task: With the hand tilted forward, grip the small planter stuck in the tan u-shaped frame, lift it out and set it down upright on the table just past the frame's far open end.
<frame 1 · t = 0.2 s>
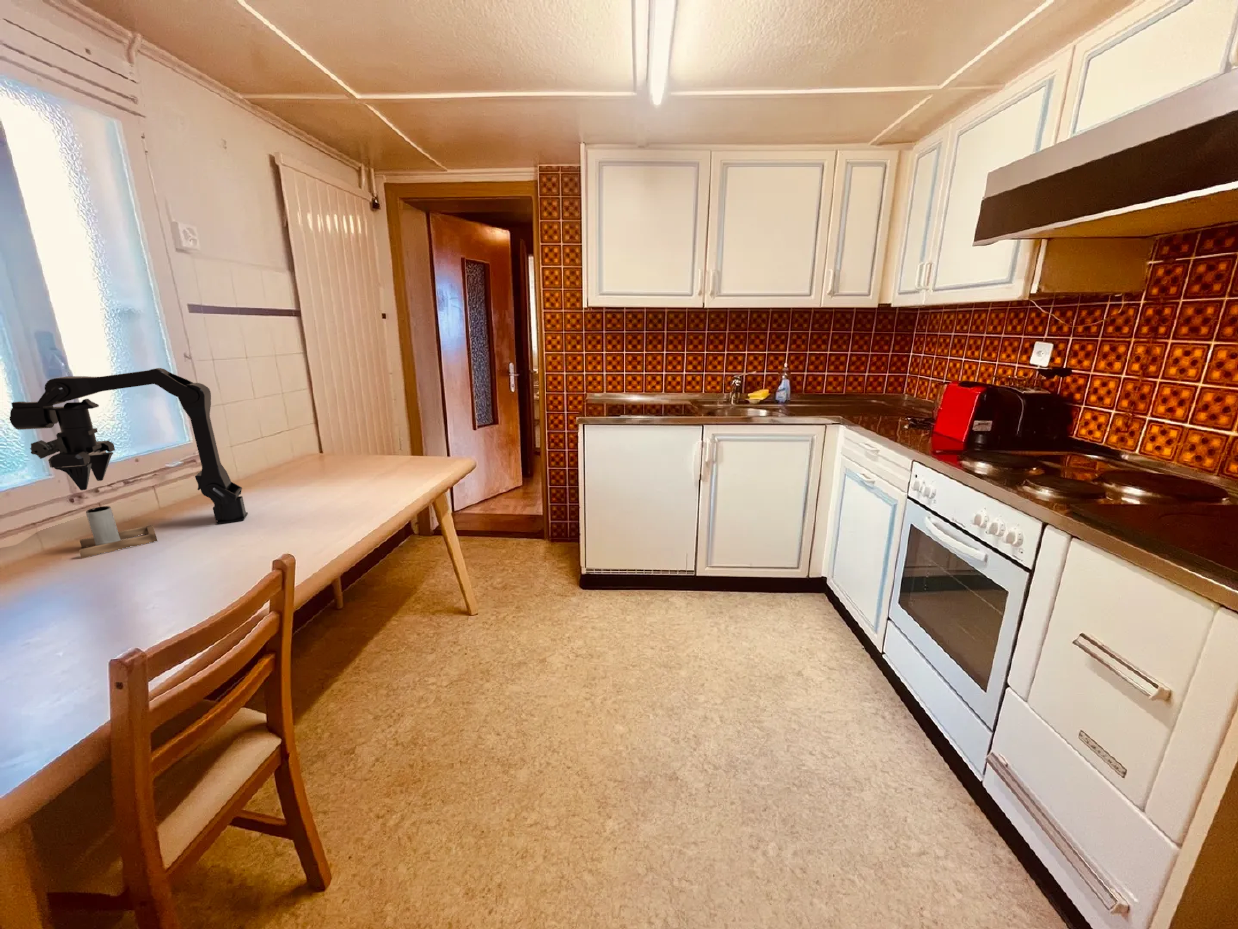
hand: (92, 485, 132), 15 cm above the table, tool pointing down, fingers open, 9 cm apart
planter: (109, 547, 130), resting in tan u-shaped frame
tan u-shaped frame: (120, 544, 131), on the table
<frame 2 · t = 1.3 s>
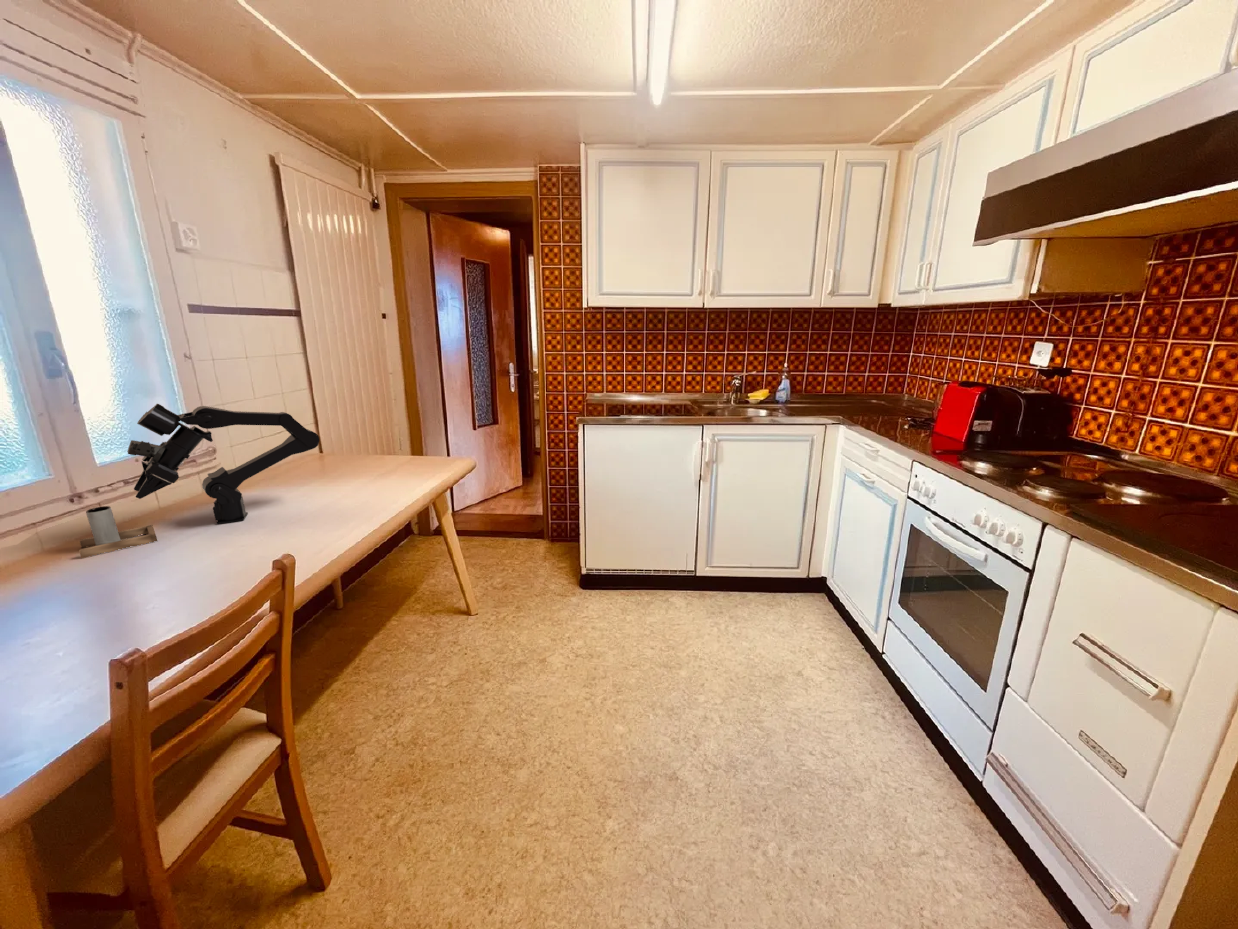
hand: (136, 494, 132), 12 cm above the table, tool tilted 45°, fingers open, 9 cm apart
nothing on the table moved.
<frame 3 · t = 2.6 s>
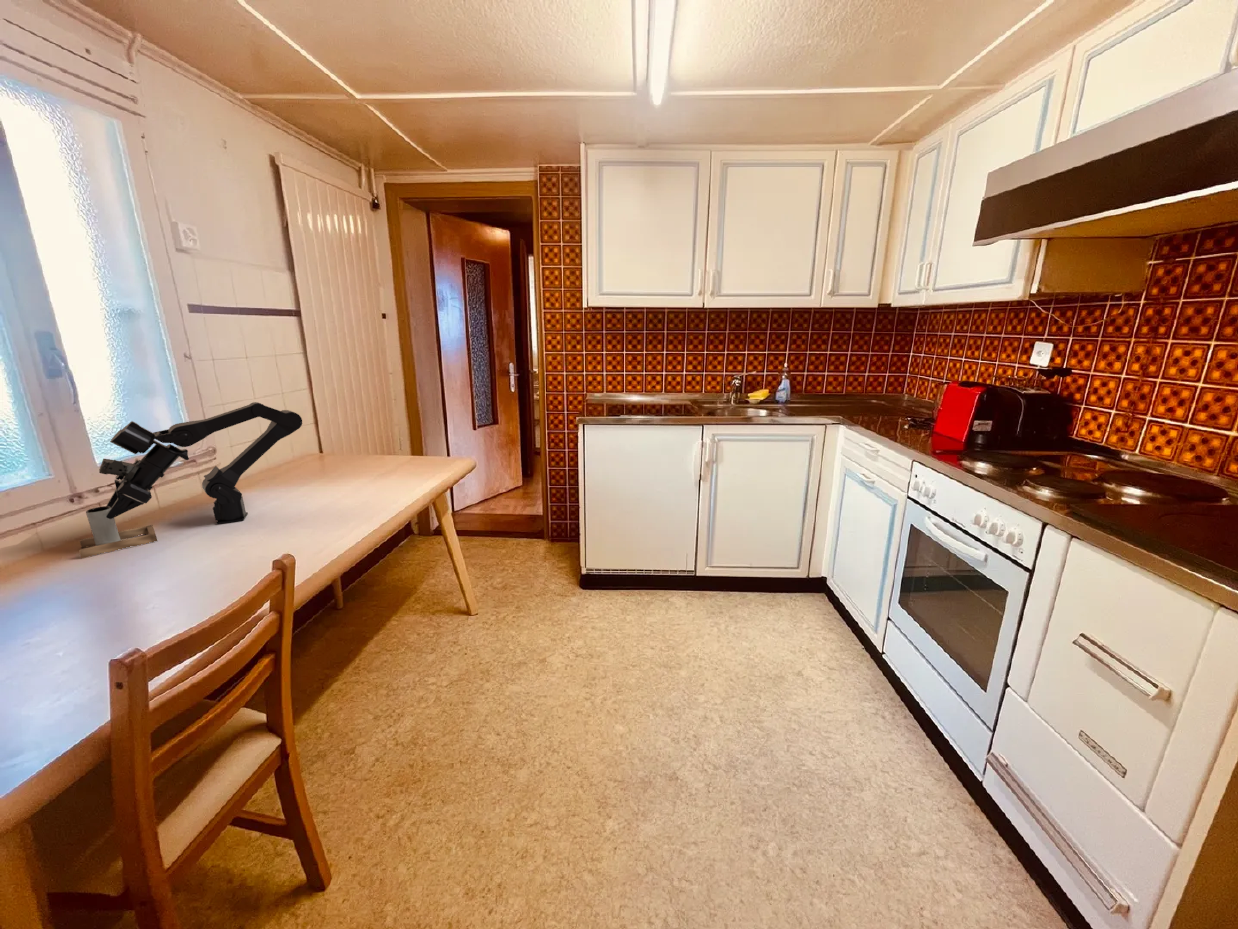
hand: (107, 513, 128), 9 cm above the table, tool tilted 45°, fingers open, 9 cm apart
nothing on the table moved.
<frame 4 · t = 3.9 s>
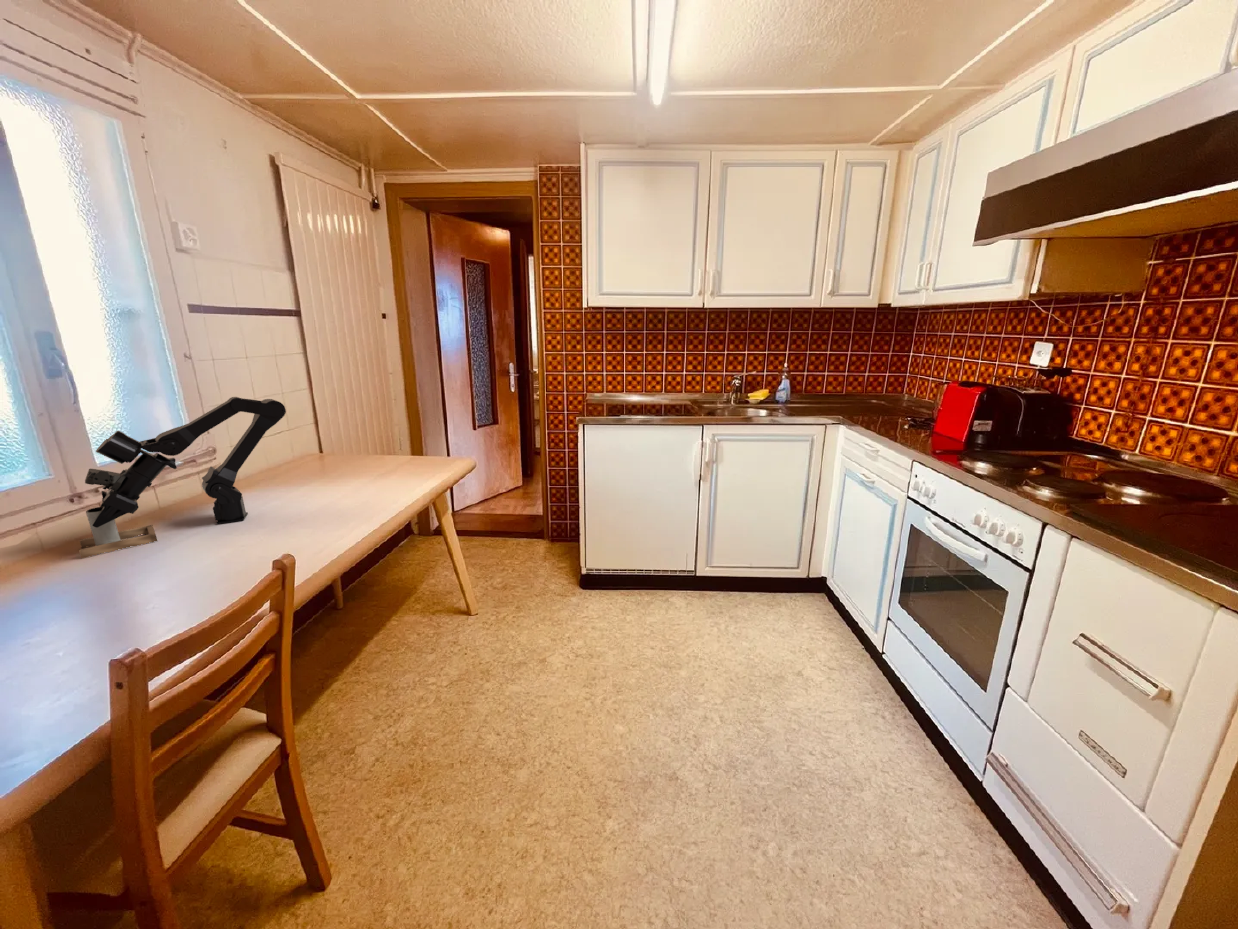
hand: (94, 524, 127), 7 cm above the table, tool tilted 45°, fingers closed on planter, 5 cm apart
planter: (109, 547, 130), resting in tan u-shaped frame, touching gripper
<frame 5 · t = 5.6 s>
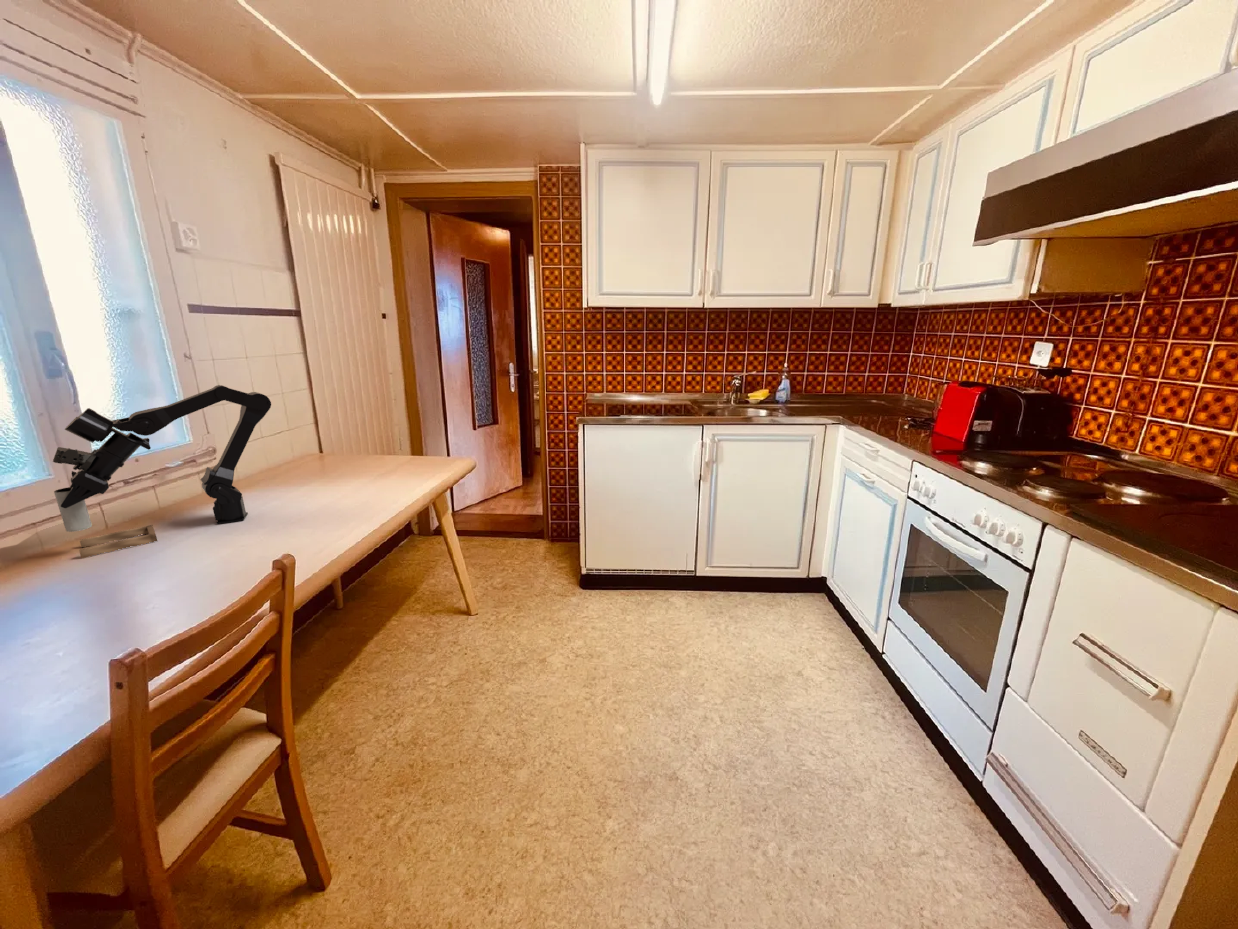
hand: (63, 505, 123), 13 cm above the table, tool tilted 45°, fingers closed on planter, 5 cm apart
planter: (79, 529, 125), point 6 cm above the table, touching gripper
when the fingers open (7 cm above the table, at t = 7.6 s): planter stays where it is, on the table.
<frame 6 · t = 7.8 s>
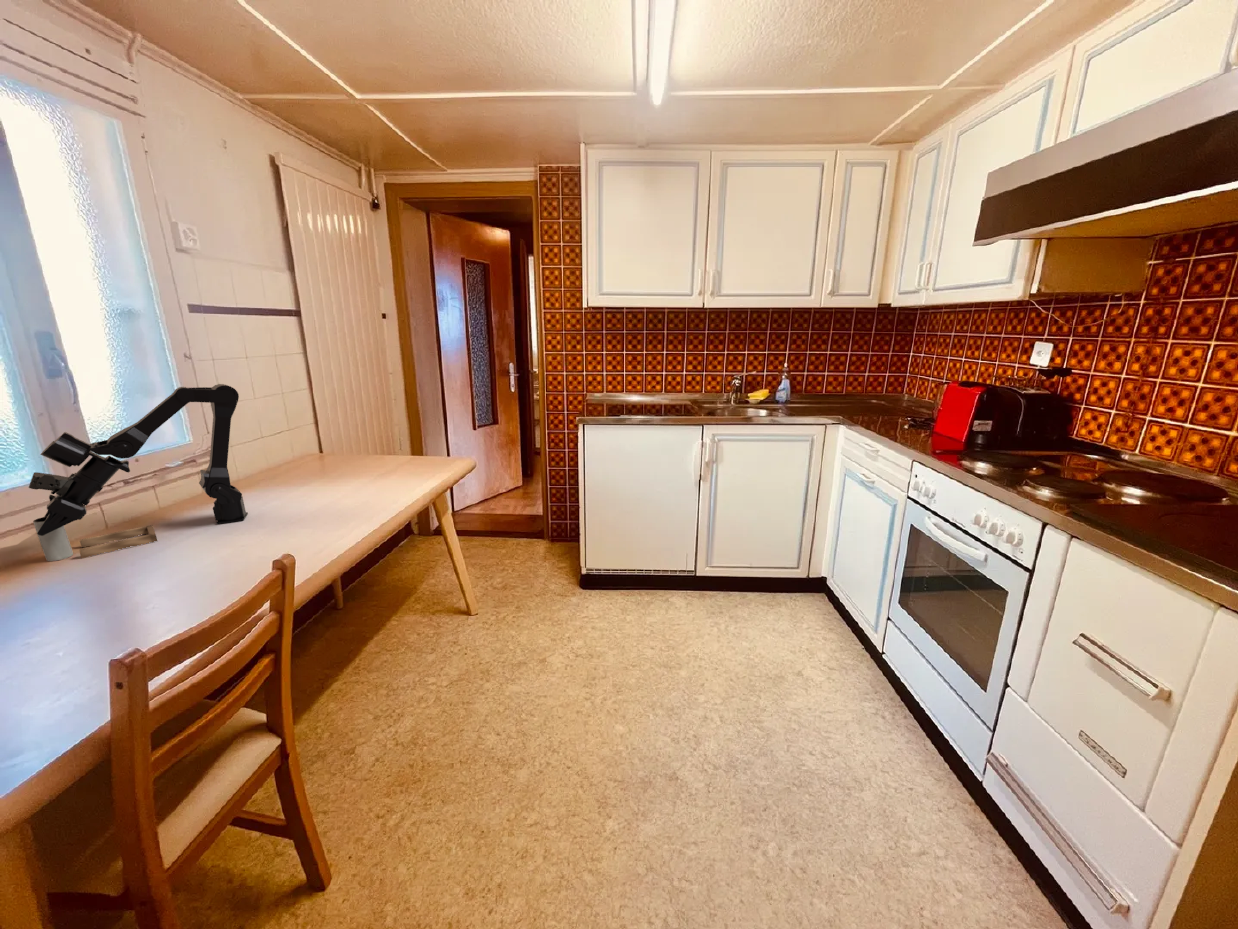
hand: (40, 530, 121), 8 cm above the table, tool tilted 45°, fingers open, 7 cm apart
planter: (60, 558, 124), on the table
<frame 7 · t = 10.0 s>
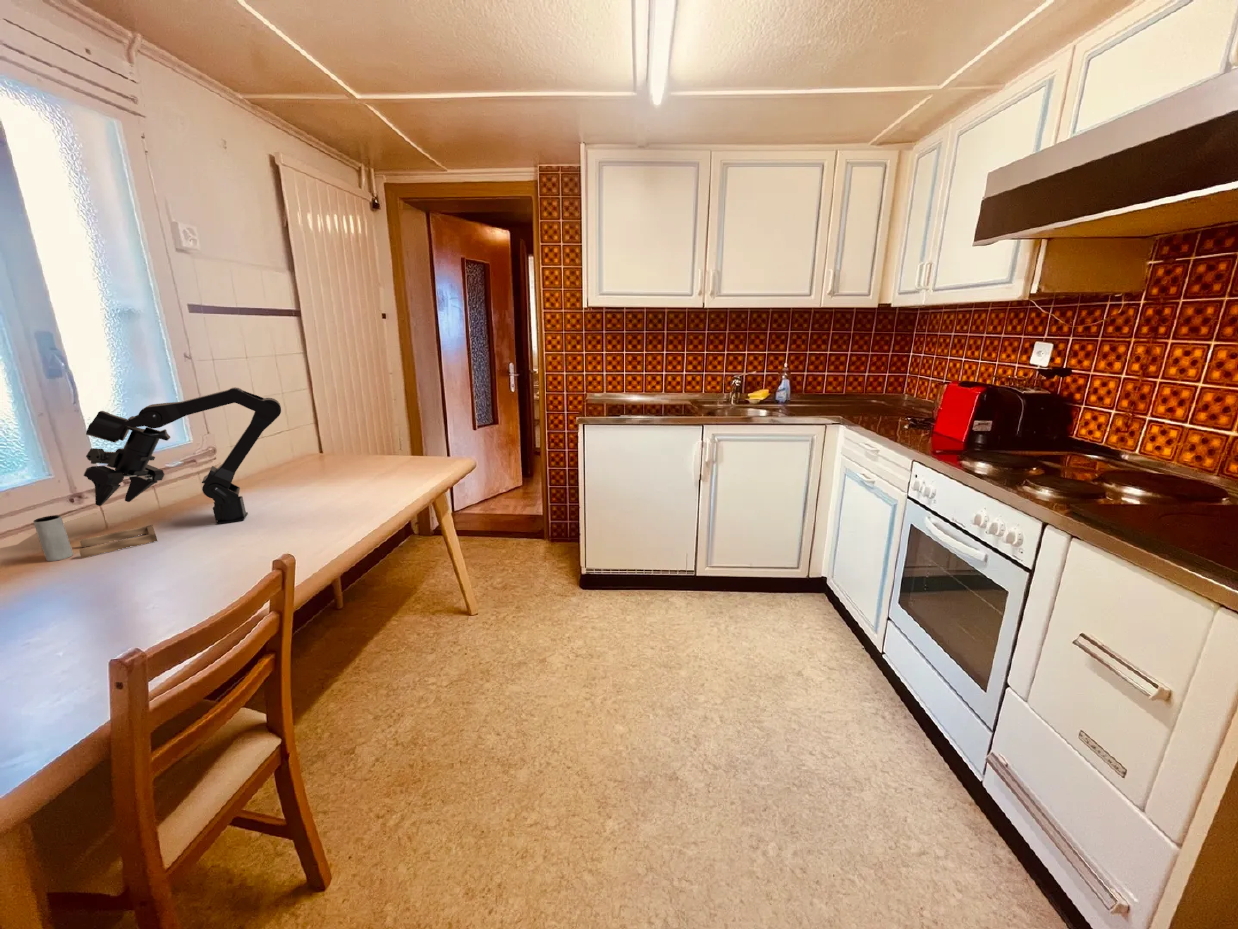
hand: (113, 503, 132), 10 cm above the table, tool tilted 30°, fingers open, 9 cm apart
nothing on the table moved.
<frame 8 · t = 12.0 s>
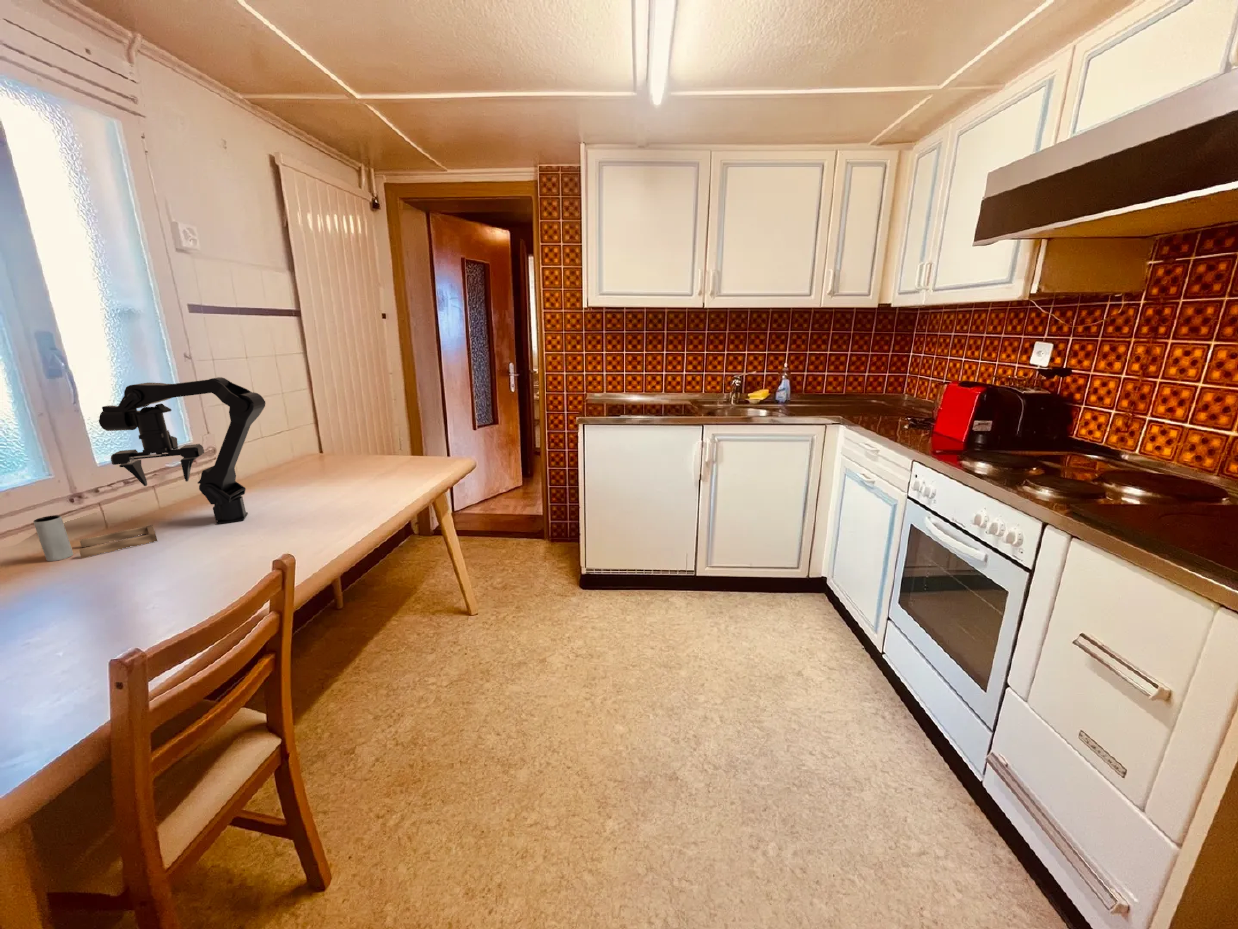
hand: (166, 483, 142), 12 cm above the table, tool pointing down, fingers open, 9 cm apart
nothing on the table moved.
at the end: planter 0.4 cm from the target spot, on the table; planter tilted 0°; the gripper is holding nothing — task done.
